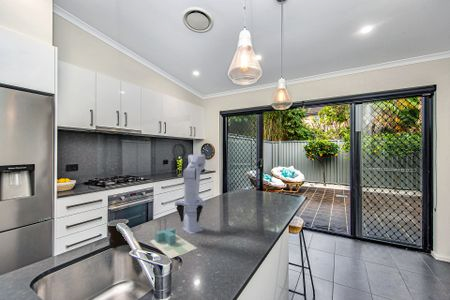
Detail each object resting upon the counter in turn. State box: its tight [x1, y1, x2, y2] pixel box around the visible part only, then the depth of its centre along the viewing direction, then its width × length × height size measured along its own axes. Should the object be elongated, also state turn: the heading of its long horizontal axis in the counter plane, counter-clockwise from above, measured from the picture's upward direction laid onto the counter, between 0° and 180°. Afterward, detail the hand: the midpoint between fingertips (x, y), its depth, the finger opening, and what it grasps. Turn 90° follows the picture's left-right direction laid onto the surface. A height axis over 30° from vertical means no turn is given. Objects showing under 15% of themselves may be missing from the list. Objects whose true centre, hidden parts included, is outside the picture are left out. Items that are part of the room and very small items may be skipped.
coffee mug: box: [107, 218, 129, 248], centre depth 88 cm, size 12×9×10 cm
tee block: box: [154, 227, 177, 245], centre depth 92 cm, size 9×9×4 cm
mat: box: [149, 233, 198, 259], centre depth 89 cm, size 22×13×1 cm, turn 43°
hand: (189, 221), depth 93 cm, fingers open, 7 cm apart
